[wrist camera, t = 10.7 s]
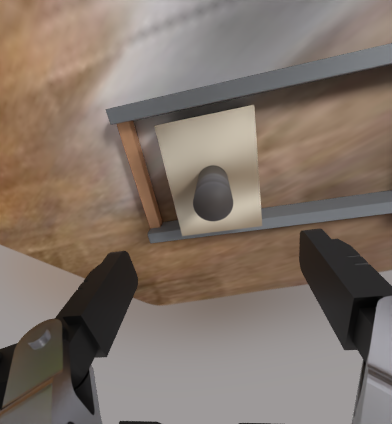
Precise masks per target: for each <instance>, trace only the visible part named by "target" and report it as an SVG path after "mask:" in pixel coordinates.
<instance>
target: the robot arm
mask: <svg viewBox="0 0 392 424" xmlns="http://www.w3.org/2000/svg"><path fill="white" fill-rule="evenodd" d="M299 262H300V267H301V271H302V273H303V275H304V277H305V279H306V281H307V283H308V284H309V286H310V288H311V290H312V292H313V294H314V295H315V297H316V299H317V301H318V302H319V304H320V306H321V308H322V310H323V312H324V314H325V315H326V317H327V319H328V321H329V323H330V325H331V327H332V328H333V330H334V332H335V334H336V335H337V337H338V339H339V341H340V343H341V345H342V347H343V348H344V350H358V351H359V353H360V355H361V356H362V358H363V363H362V368H361V374H360V379H359V385H358V390H357V396H356V402H355V408H354V413H353V419H352V424H392V286H391V285H390V284H389V283H388V282H387V281H386V280H385V279H384V278H383V277H382V276H381V275H380V274H379V273H378V272H377V271H376V270H375V269H374V268H373V267H372V266H371V265H370V264H369V265H368V262H367V261H366V260H365V259H364V258H363V257H360V254H359V253H358V252H357V251H356V250H355V249H354V248H353V247H352V246H350V245H348V244H347V243H345V242H343V241H341V240H339V239H331V238H330V237H329V236H328V235H327V234H326V233H325V232H324V231H323V230H322V229H312V230H303V231H301V232H300V252H299ZM137 285H138V277H137V274H136V271H135V269H134V266H133V264H132V261H131V259H130V256H129V254H128V252H126V251H120V252H111V253H109V254H108V255H107V256H106V258H105V259H104V260H103V262H102V263H101V264H100V265H98V266H97V267H96V268H95V269H93V270H92V271H91V272H90V273H89V275H88V276H87V277H86V278H85V280H84V282H83V283H82V284H81V285H80V286H79V288H78V290H76V292H75V293H74V294H73V296H72V297H71V298H70V300H69V301H68V302H67V303H66V305H65V306H64V307H63V309H62V310H61V311H60V312H59V314H58V315H57V316H56V318H55V319H49V320H46V321H44V322H42V323H40V324H38V325H36V326H35V327H33V328H32V329H31V330H29V331H28V332H27V333H26V334H25V335H24V336H23V337H22V338H21V340H20V341H19V342H18V343H17V344H14V345H11V346H8V347H5V348H2V349H0V424H102V421H101V416H100V410H99V403H98V396H97V390H96V384H95V376H94V371H93V367H92V366H91V364H92V361H93V359H94V358H95V357H107V355H108V353H109V351H110V348H111V346H112V344H113V341H114V339H115V337H116V335H117V332H118V330H119V327H120V325H121V323H122V321H123V318H124V316H125V314H126V312H127V309H128V307H129V305H130V302H131V300H132V298H133V295H134V293H135V291H136V289H137ZM119 424H161V423H158V422H141V421H120V422H119ZM239 424H265V423H239ZM266 424H267V423H266Z"/></svg>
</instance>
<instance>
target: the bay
mask: <svg viewBox="0 0 392 424" xmlns="http://www.w3.org/2000/svg"><path fill="white" fill-rule="evenodd" d="M391 64H392V43H390V44H386V45H382V46H377V47H373V48H369V49H365V50H360V51H356V52H352V53H347V54H343V55H339V56H334V57H330V58H326V59H321V60H317V61H313V62H308V63H304V64H300V65H295V66H291V67H287V68H282V69H278V70H274V71H269V72H265V73H261V74H257V75H252V76H248V77H244V78H239V79H235V80H231V81H226V82H222V83H218V84H213V85H209V86H205V87H200V88H196V89H192V90H187V91H183V92H179V93H174V94H170V95H166V96H161V97H157V98H153V99H149V100H144V101H140V102H136V103H131V104H127V105H123V106H118V107H114V108H110V109H106V112H107V115H108V118H109V121H110V124H117V127H118V130H119V133H120V137H121V140H122V143H123V146H124V149H125V152H126V155H127V158H128V161H129V164H130V167H131V170H132V174H133V177H134V180H135V183H136V186H137V189H138V192H139V195H140V198H141V201H142V204H143V207H144V211H145V214H146V217H147V220H148V223H149V226H150V230H149V232H148V237H149V240H150V243H156V242H164V241H172V240H180V239H188V238H196V237H204V236H212V235H220V234H228V233H236V232H244V231H252V230H260V229H268V228H276V227H284V226H292V225H300V224H308V223H316V222H324V221H332V220H340V219H348V218H356V217H364V216H372V215H380V214H388V213H392V190H390V191H383V192H376V193H368V194H361V195H354V196H347V197H340V198H333V199H325V200H318V201H311V202H304V203H297V204H290V205H282V206H275V207H268V208H261V215H262V226H258V227H250V228H242V229H235V230H227V231H219V232H211V233H203V234H195V235H187V236H182V233H181V229H180V225H179V221H178V220H175V221H168V222H162V218H161V215H160V211H159V208H158V204H157V201H156V198H155V194H154V191H153V187H152V184H151V180H150V177H149V174H148V170H147V167H146V163H145V160H144V156H143V153H142V150H141V146H140V143H139V139H138V136H137V132H136V129H135V126H134V122H133V121H135V120H139V119H144V118H148V117H153V116H158V115H162V114H167V113H171V112H176V111H180V110H185V109H190V108H194V107H199V106H203V105H208V104H213V103H217V102H222V101H226V100H231V99H235V98H240V97H245V96H249V95H254V94H258V93H263V92H268V91H272V90H277V89H281V88H286V87H290V86H295V85H300V84H304V83H309V82H313V81H318V80H322V79H327V78H332V77H336V76H341V75H345V74H350V73H355V72H359V71H364V70H368V69H373V68H377V67H382V66H387V65H391Z"/></svg>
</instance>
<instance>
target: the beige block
mask: <svg viewBox="0 0 392 424" xmlns="http://www.w3.org/2000/svg"><path fill="white" fill-rule="evenodd" d="M154 127H155V131H156V135H157V139H158V143H159V147H160V151H161V155H162V158H163V162H164V166H165V170H166V174H167V178H168V182H169V186H170V190H171V194H172V198H173V202H174V205H175V209H176V213H177V217H178V221H179V225H180V229H181V233H182V236H187V235H195V234H203V233H211V232H219V231H227V230H235V229H242V228H250V227H258V226H262V215H261V200H260V185H259V170H258V155H257V140H256V125H255V110H254V105H250V106H245V107H240V108H236V109H231V110H226V111H221V112H217V113H212V114H207V115H202V116H198V117H193V118H188V119H183V120H179V121H174V122H169V123H165V124H160V125H155V126H154Z"/></svg>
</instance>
